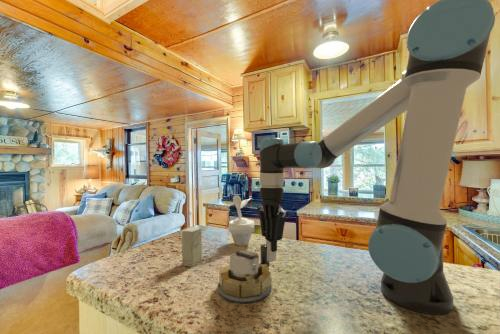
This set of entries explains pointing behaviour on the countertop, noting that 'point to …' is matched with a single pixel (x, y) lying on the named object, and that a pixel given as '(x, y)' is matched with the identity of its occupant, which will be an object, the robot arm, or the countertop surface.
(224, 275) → the tan handled ring
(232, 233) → the potted plant
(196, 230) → the skincare box
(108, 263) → the countertop surface
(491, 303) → the countertop surface
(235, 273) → the housing
